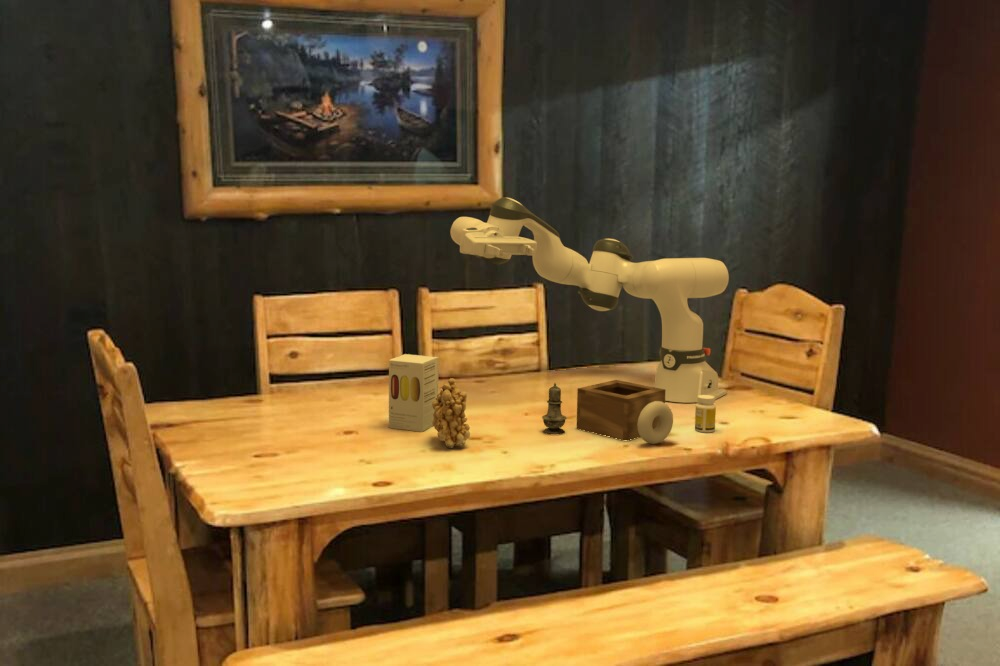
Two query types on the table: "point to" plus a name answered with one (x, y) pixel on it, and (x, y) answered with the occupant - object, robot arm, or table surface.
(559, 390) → the salt shaker
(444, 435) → the mineral formation
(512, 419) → the table surface
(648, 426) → the donut
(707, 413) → the supplement bottle
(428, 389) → the supplement box
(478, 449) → the table surface
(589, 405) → the box
